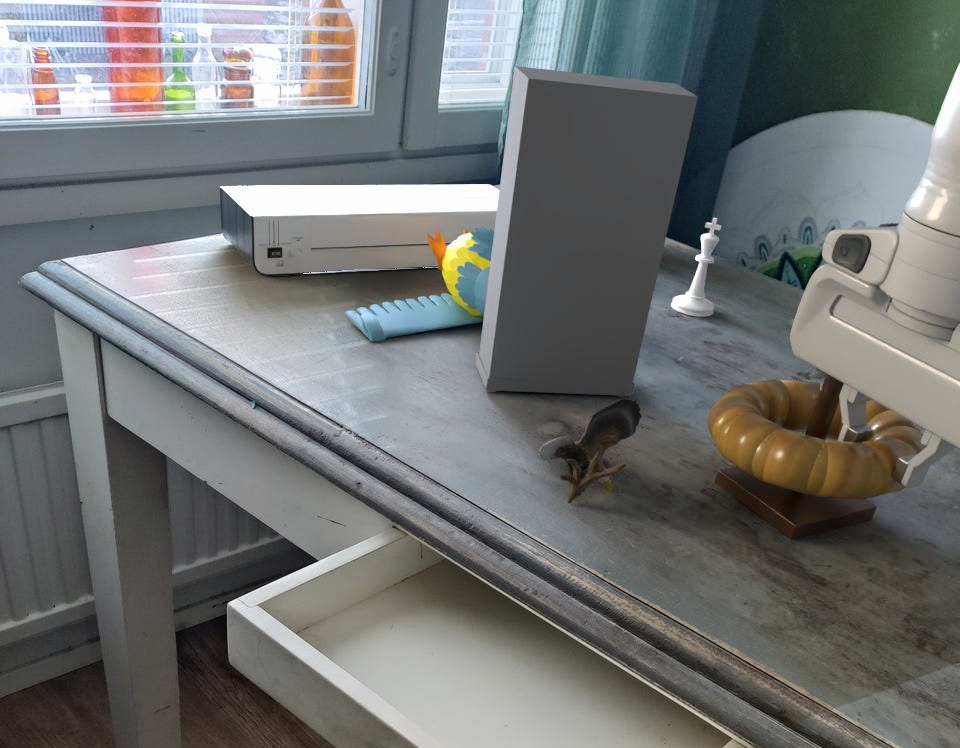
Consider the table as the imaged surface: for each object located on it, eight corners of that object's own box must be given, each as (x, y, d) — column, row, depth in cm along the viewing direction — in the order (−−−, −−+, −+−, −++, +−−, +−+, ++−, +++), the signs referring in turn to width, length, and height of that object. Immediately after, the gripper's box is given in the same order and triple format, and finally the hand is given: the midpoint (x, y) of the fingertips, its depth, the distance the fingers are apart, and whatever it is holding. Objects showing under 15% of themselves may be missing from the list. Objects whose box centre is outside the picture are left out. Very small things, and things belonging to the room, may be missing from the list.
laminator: (483, 234, 126) (489, 183, 123) (531, 267, 118) (539, 213, 115) (221, 243, 112) (219, 185, 108) (256, 281, 104) (255, 220, 100)
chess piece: (709, 320, 111) (734, 228, 105) (667, 310, 112) (689, 218, 106) (716, 307, 115) (740, 218, 109) (675, 297, 116) (697, 208, 110)
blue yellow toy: (560, 204, 109) (647, 251, 99) (547, 282, 114) (628, 334, 105) (329, 215, 95) (406, 272, 86) (326, 304, 101) (398, 366, 91)
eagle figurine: (646, 507, 73) (659, 436, 79) (609, 431, 69) (625, 362, 75) (554, 531, 77) (573, 462, 83) (514, 460, 73) (536, 392, 79)
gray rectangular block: (613, 371, 96) (674, 81, 81) (631, 398, 91) (700, 97, 76) (474, 365, 93) (510, 63, 78) (485, 393, 88) (526, 78, 73)
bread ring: (805, 409, 86) (819, 364, 84) (958, 488, 75) (978, 438, 73) (663, 433, 79) (673, 384, 76) (809, 523, 68) (826, 470, 65)
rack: (793, 466, 84) (855, 288, 75) (872, 519, 78) (950, 333, 69) (713, 482, 80) (769, 296, 71) (791, 539, 74) (863, 345, 65)
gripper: (1133, 330, 58) (1025, 530, 66) (871, 222, 71) (809, 401, 79) (1070, 339, 55) (965, 547, 63) (809, 225, 68) (751, 410, 77)
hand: (876, 465), depth 72 cm, fingers closed on bread ring, 4 cm apart
